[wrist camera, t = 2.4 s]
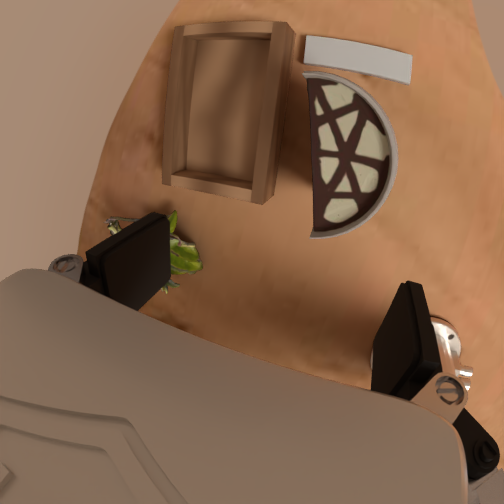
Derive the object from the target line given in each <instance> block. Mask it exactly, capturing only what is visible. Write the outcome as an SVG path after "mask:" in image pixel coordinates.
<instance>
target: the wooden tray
mask: <svg viewBox="0 0 504 504" xmlns="http://www.w3.org/2000/svg"><path fill="white" fill-rule="evenodd" d="M295 36H296V33H295V32H294V31H293V29H292V28H291V27H290V26H289V24H288V23H287V22H274V21H234V22H215V23H203V24H193V25H185V26H177V27H175V30H174V37H173V44H172V51H171V59H170V67H169V76H168V85H167V96H166V108H165V122H164V138H163V162H162V184H164V185H169V186H174V187H180V188H185V189H190V190H195V191H200V192H205V193H210V194H215V195H219V196H224V197H229V198H233V199H238V200H243V201H247V202H252V203H256V204H260V205H263V204H264V203H265V202H266V201H268V200H269V199H270V198H271V197H272V196H273V195H274V190H275V183H276V176H277V169H278V163H279V156H280V148H281V141H282V134H283V127H284V120H285V113H286V105H287V98H288V90H289V83H290V75H291V68H292V60H293V52H294V44H295Z"/></svg>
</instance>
